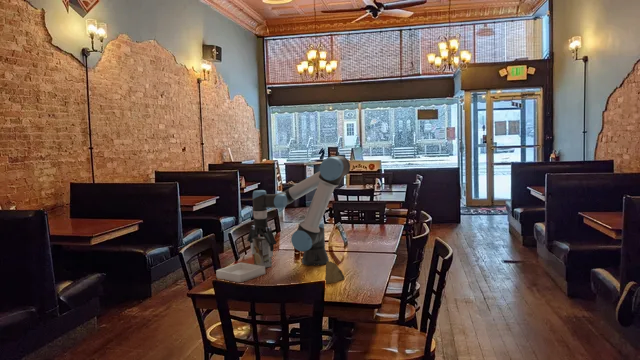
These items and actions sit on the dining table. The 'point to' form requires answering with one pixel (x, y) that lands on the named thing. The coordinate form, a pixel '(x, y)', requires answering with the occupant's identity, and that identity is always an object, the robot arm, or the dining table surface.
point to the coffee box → (261, 252)
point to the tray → (240, 272)
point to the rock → (333, 273)
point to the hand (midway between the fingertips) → (262, 255)
